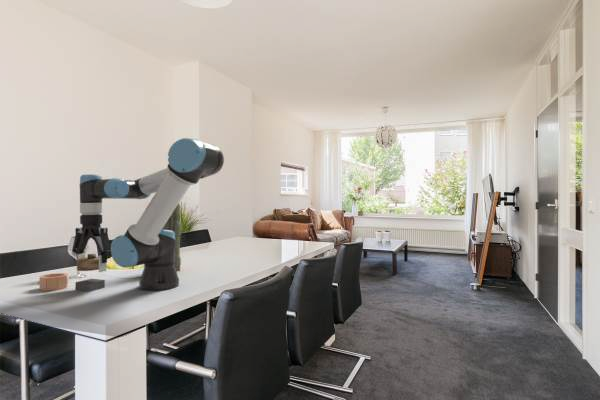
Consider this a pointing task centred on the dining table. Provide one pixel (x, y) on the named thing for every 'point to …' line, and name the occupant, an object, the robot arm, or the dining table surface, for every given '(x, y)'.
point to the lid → (88, 263)
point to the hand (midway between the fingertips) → (91, 270)
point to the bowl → (53, 281)
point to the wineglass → (76, 255)
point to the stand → (90, 285)
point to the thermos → (175, 226)
